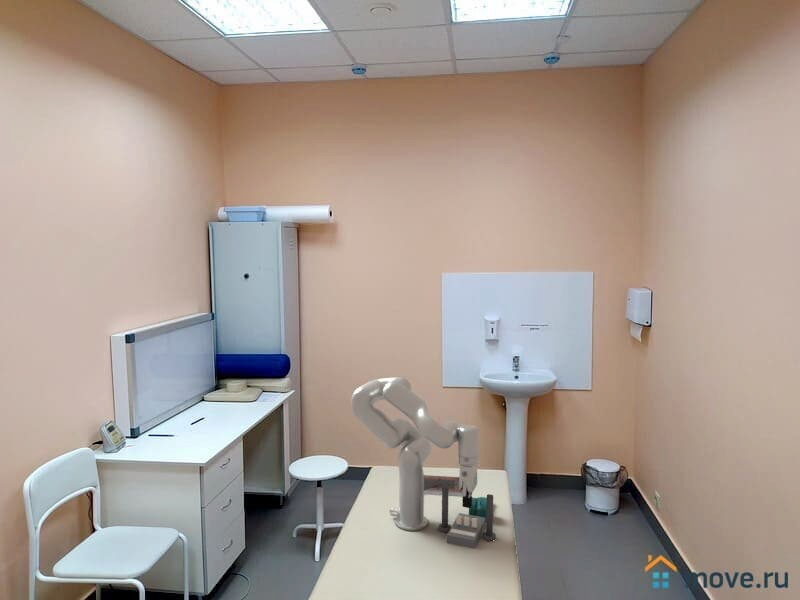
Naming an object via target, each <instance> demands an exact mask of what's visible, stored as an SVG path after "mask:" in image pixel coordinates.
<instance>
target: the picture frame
mask: <svg viewBox="0 0 800 600" xmlns="http://www.w3.org/2000/svg"><path fill="white" fill-rule="evenodd" d="M443 487H447V488H449V494H448V497H449V496H452V497H463V496H462V493H463V490H462V491H460V490H459V476H449V475H448V476H445V475H442V476H441V475H431V474H429V475H427V474H424V495H432V494H436V495H435V496H442V488H443Z"/></svg>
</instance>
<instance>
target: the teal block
mask: <svg viewBox="0 0 800 600" xmlns="http://www.w3.org/2000/svg"><path fill="white" fill-rule="evenodd" d="M486 507H487V497H485V496H480V497H472V506H471V508H468V515H473V516H479V517H484V518H486ZM485 524H486V521H485Z"/></svg>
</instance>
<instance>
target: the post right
mask: <svg viewBox="0 0 800 600" xmlns="http://www.w3.org/2000/svg"><path fill="white" fill-rule="evenodd" d="M486 498H487V507H486V523H485V531H483V532H482V534H481V536H482V537H481V538H482V540H483V539H484V540H483V541H485V540H486V541H485V542H489V541H492V542H494V541H493V540H495V539H496V540H497V534H496V533H495V532H493V528H494V527H493V526H494V525H493V524H494V523H493V522H494V495H493V494H490V493H489V494H487V495H486ZM496 540H495V541H496Z"/></svg>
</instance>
